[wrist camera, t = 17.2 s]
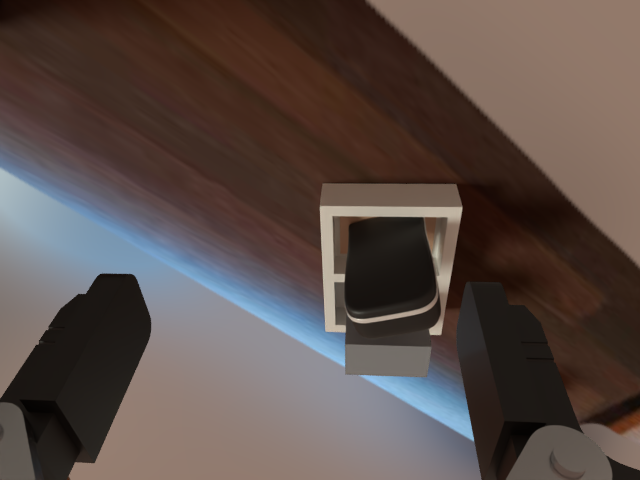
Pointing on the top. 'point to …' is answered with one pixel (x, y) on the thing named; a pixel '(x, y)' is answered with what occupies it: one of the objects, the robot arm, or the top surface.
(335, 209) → the dock
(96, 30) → the top surface
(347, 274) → the battery charger
